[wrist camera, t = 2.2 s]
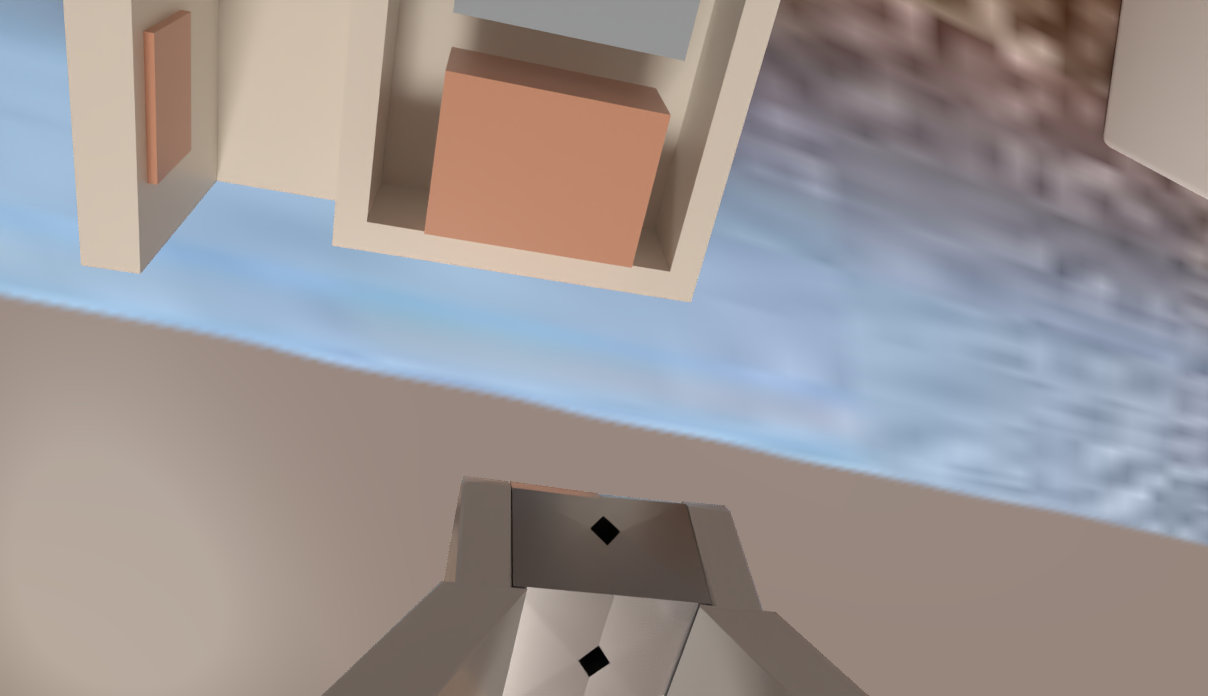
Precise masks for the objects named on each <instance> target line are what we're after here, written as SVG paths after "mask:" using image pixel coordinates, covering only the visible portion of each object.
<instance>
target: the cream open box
mask: <svg viewBox="0 0 1208 696" xmlns="http://www.w3.org/2000/svg"><path fill="white" fill-rule="evenodd" d="M454 2H455V0H63V4H64V18H65V33H66V48H67V63H68V77H69V92H70V107H71V122H72V136H73V151H74V166H75V180H76V195H77V210H78V225H79V239H80V254H81V265H83V266H90V267H97V268H104V269H111V270H117V271H124V272H131V273H138V274H141V272H142V271H143V270H144V269H145V268H146V266H147V265H148V264H149V263H150V261H151V260H152V259H153V258H154V257H155V255H156V254H157V253H158V252H159V250H160V249H161V248H162V247H163V246H164V244H165V243H166V242H167V241H168V240H169V238H170V237H171V236H172V235H173V233H174V232H175V231H176V230H177V229H178V227H179V226H180V225H181V224H182V222H183V221H184V220H185V219H186V218H187V216H188V215H189V214H190V213H191V212H192V210H193V209H194V208H195V207H196V205H197V204H198V203H199V202H200V201H201V199H202V198H203V197H204V196H205V194H206V193H207V192H208V191H209V190H210V188H211V187H212V186H213V185H214V184H215V182H216V181H222V182H228V183H234V184H240V185H246V186H252V187H258V188H264V189H270V190H275V191H281V192H287V193H293V194H299V195H305V196H311V197H317V198H323V199H329V200H335V201H336V203H335V216H334V228H333V241H332V246H338V247H345V248H351V249H357V250H364V251H370V252H376V253H382V254H389V255H395V256H401V257H408V258H414V259H420V260H427V261H433V262H439V263H446V264H452V265H458V266H465V267H471V268H477V269H483V270H490V271H496V272H502V273H509V274H515V275H521V276H528V277H534V278H540V279H547V280H553V281H559V282H565V283H572V284H578V285H584V286H591V287H597V288H603V289H610V290H616V291H622V292H629V293H635V294H641V295H647V296H654V297H660V298H666V299H673V300H679V301H685V302H691V300H692V296H693V293H694V290H695V286H696V283H697V280H698V276H699V273H700V269H701V266H702V263H703V259H704V256H705V253H706V249H707V246H708V242H709V239H710V236H711V232H712V229H713V226H714V222H715V219H716V216H717V212H718V209H719V205H720V202H721V199H722V195H723V192H724V189H725V185H726V182H727V178H728V175H729V172H730V168H731V165H732V162H733V158H734V155H735V151H736V148H737V145H738V141H739V138H740V135H741V131H742V128H743V125H744V121H745V118H746V114H747V111H748V108H749V104H750V101H751V98H752V94H753V91H754V87H755V84H756V81H757V77H758V74H759V71H760V67H761V64H762V60H763V57H764V54H765V50H766V47H767V44H768V40H769V37H770V34H771V30H772V27H773V23H774V20H775V17H776V13H777V10H778V7H779V3H780V0H700V3H699V7H698V11H697V15H696V19H695V23H694V27H693V31H692V35H691V39H690V42H689V46H688V50H687V54H686V58H685V61H682V60H677V59H672V58H668V57H663V56H658V55H653V54H649V53H644V52H639V51H634V50H630V49H625V48H620V47H615V46H611V45H606V44H601V43H596V42H592V41H587V40H582V39H577V38H572V37H568V36H563V35H558V34H553V33H549V32H544V31H539V30H534V29H530V28H525V27H520V26H515V25H511V24H506V23H501V22H496V21H492V20H487V19H482V18H477V17H473V16H468V15H463V14H458V13H453V10H454ZM452 47H456V48H461V49H466V50H471V51H476V52H481V53H486V54H491V55H496V56H501V57H506V58H510V59H515V60H520V61H525V62H530V63H535V64H540V65H545V66H550V67H555V68H560V69H565V70H570V71H574V72H579V73H584V74H589V75H594V76H599V77H604V78H609V79H614V80H619V81H624V82H629V83H634V84H639V85H643V86H648V87H653V88H656V89H657V91H658V93H659V95H660V96H661V98H662V100H663V102H664V104H665V105H666V107H667V109H668V111H669V113H670V114H671V117H670V121H669V124H668V128H667V132H666V136H665V140H664V144H663V148H662V152H661V156H660V160H659V164H658V167H657V171H656V175H655V179H654V183H653V187H652V191H651V195H650V199H649V203H648V207H647V210H646V214H645V218H644V222H643V226H642V230H641V234H640V238H639V242H638V246H637V249H636V253H635V257H634V261H633V265H632V268H629V267H623V266H617V265H611V264H605V263H599V262H593V261H587V260H581V259H575V258H568V257H562V256H556V255H550V254H544V253H538V252H532V251H526V250H520V249H514V248H507V247H501V246H495V245H489V244H483V243H477V242H471V241H465V240H459V239H452V238H446V237H440V236H434V235H428V234H424V231H425V223H426V215H427V208H428V200H429V193H430V185H431V177H432V170H433V162H434V154H435V147H436V139H437V132H438V124H439V116H440V109H441V101H442V93H443V86H444V78H445V71H446V67H447V63H448V59H449V55H450V51H451V48H452Z"/></svg>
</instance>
